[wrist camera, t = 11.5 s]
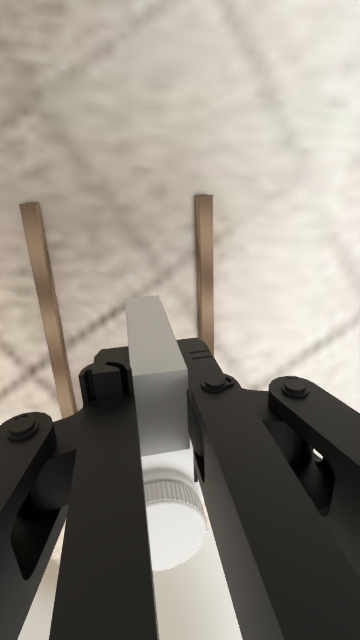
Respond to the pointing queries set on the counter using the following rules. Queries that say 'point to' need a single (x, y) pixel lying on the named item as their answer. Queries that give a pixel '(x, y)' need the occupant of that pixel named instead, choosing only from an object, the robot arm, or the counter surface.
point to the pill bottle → (173, 508)
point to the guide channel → (49, 303)
